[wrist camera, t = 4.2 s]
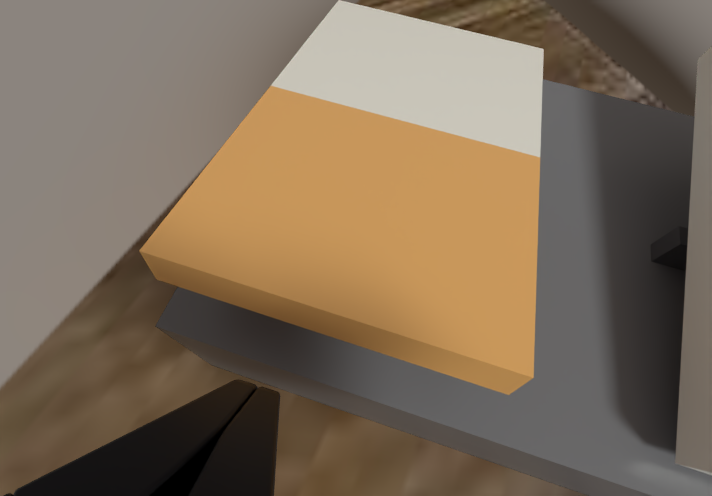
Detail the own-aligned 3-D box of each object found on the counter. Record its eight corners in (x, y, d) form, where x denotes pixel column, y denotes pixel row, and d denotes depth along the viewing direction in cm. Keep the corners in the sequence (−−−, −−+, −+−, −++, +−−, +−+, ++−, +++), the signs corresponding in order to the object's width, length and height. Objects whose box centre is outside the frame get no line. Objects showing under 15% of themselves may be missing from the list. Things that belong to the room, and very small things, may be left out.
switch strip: (802, 569, 17) (1171, 664, 10) (211, 365, 20) (136, 312, 12) (745, 234, 25) (923, 140, 17) (327, 120, 28) (325, -3, 20)
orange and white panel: (508, 395, 10) (533, 377, 9) (156, 279, 11) (139, 250, 10) (530, 77, 19) (543, 48, 18) (337, 29, 20) (338, 0, 19)
